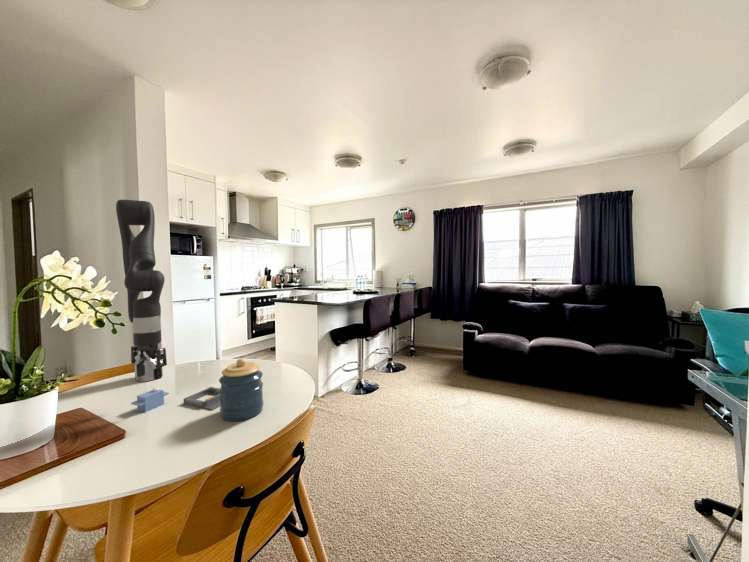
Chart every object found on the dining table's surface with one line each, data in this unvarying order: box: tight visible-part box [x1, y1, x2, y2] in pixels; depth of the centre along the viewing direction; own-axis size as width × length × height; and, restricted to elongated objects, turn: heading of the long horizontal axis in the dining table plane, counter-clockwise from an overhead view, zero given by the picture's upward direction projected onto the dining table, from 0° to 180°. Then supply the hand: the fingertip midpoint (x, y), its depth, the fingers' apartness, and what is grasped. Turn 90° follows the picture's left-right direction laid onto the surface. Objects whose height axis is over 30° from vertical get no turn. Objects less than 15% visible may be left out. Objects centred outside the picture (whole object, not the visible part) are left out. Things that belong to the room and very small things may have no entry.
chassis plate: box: [183, 386, 221, 411], centre depth 107 cm, size 14×11×2 cm
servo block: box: [130, 387, 170, 413], centre depth 102 cm, size 4×10×6 cm, turn 159°
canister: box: [218, 358, 264, 422], centre depth 98 cm, size 13×13×18 cm
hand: (149, 377), depth 101 cm, fingers open, 8 cm apart
